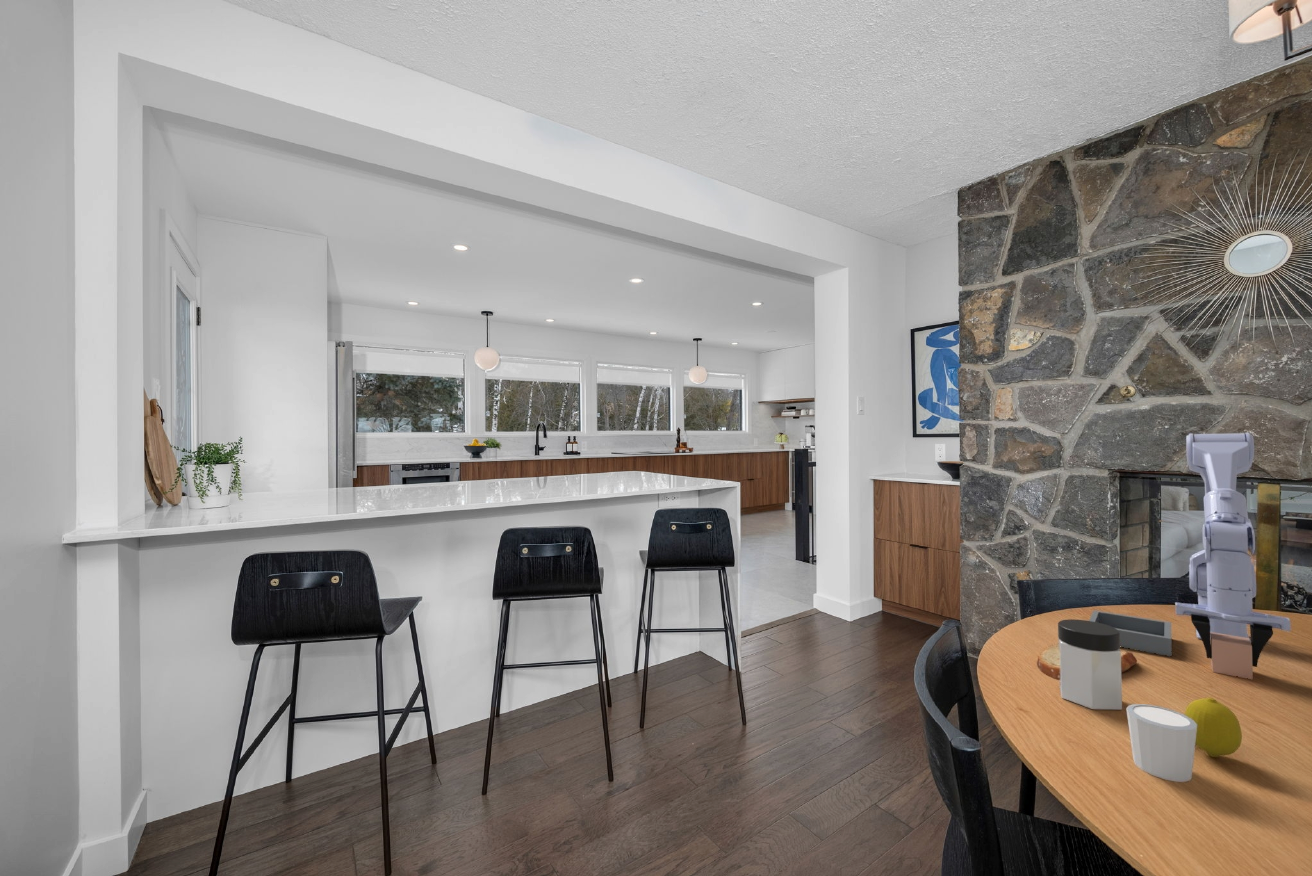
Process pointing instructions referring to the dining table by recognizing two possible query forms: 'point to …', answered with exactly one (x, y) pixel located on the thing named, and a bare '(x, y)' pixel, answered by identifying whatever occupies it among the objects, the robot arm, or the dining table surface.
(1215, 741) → the lemon
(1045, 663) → the bread slice
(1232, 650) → the block
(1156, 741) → the white cup
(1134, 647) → the bin
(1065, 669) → the jar
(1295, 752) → the dining table surface
